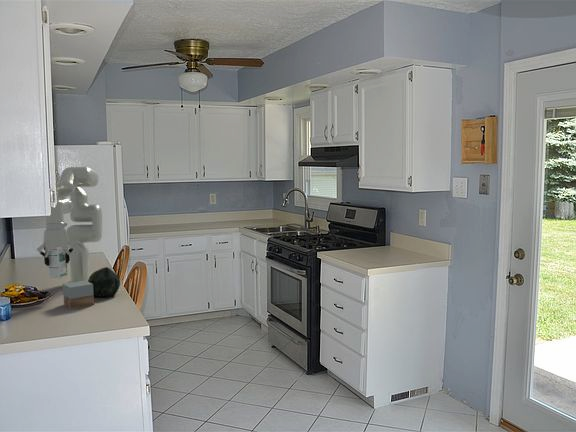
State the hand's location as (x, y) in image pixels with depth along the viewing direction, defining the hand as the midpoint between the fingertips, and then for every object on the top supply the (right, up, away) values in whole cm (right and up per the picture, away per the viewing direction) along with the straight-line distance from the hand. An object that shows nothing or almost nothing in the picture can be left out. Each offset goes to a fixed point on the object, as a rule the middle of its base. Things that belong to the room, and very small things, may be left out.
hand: (57, 264), depth 244 cm
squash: (+18, -17, +11) cm, 27 cm away
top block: (+12, -13, -7) cm, 19 cm away
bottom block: (+12, -18, -6) cm, 23 cm away
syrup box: (0, -6, +1) cm, 6 cm away
